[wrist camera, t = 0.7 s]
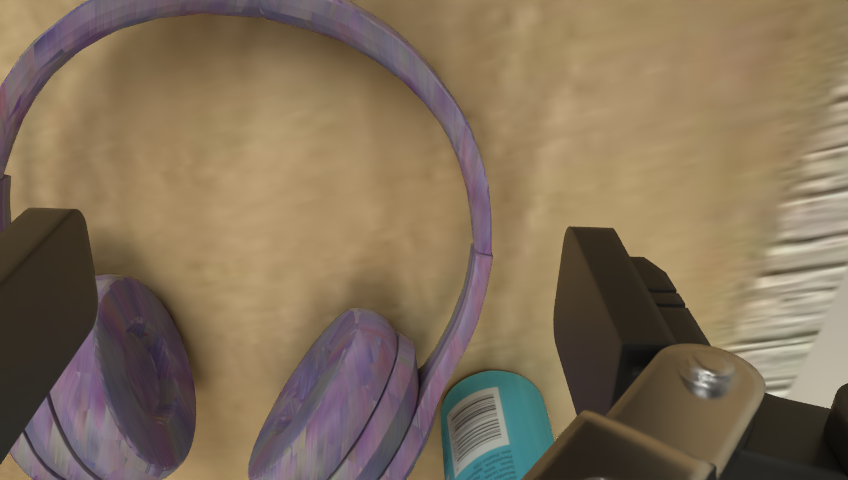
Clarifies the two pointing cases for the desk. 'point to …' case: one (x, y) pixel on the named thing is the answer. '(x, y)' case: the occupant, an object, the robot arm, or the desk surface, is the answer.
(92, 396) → the headphones
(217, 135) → the desk surface
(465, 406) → the tube
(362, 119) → the desk surface
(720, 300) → the desk surface
